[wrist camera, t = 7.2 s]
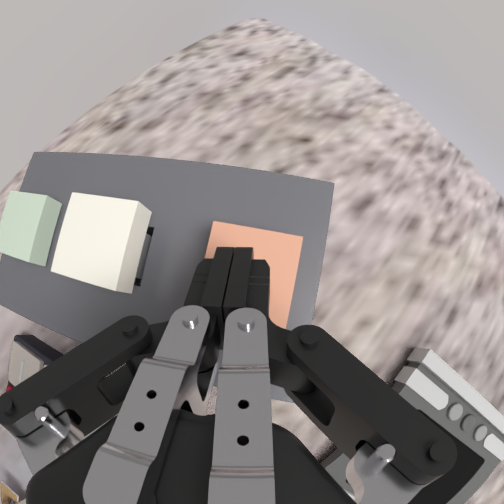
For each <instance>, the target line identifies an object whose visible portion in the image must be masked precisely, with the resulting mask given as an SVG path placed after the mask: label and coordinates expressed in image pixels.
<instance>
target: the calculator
mask: <svg viewBox="0 0 504 504" xmlns="http://www.w3.org/2000/svg"><path fill="white" fill-rule="evenodd" d="M62 356H63V354H61V353H60V352H58V351H56V350H55V349H53V348H52V347H50V346H49V345H47V344H45V343H44V342H42V341H41V340H39V339H38V338H36V337H35V336H33V335H16V336H15V337H14V341H13V343H12V348H11V355H10V363H9V371H8V386H7V391H9V390H10V389H12V388H13V387H15V386H16V385H18V384H20V383H21V382H23V381H24V380H26V379H27V378H29V377H30V376H32V375H33V374H35V373H37V372H38V371H40V370H41V369H43V368H44V367H46V366H47V365H49V364H51V363H52V362H54V361H55V360H57V359H58V358H60V357H62ZM104 379H105V378H102V379H101V380H100V381H99V382H101V381H102V380H104ZM7 391H6V392H7ZM117 415H118V414H117ZM117 415H116V416H117ZM114 417H115V416H114ZM107 422H108V421H107ZM104 424H105V423H104ZM104 424H103V425H104ZM101 426H102V425H101ZM101 426H100V427H101ZM100 427H98V428H100ZM98 428H97V429H98ZM97 429H95V430H94V431H96V430H97ZM94 431H93V432H94ZM93 432H91V433H93ZM91 433H90V434H91ZM90 434H88V435H87V436H89V435H90ZM87 436H85V437H84V439H85V438H86V437H87Z"/></svg>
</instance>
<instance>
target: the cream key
mask: <svg viewBox="0 0 504 504" xmlns="http://www.w3.org/2000/svg"><path fill="white" fill-rule="evenodd" d="M151 213H152V212H151V211H150V210H149V209H147V208H146V207H145V206H144V205H143V204H141V203H140V202H139V201H134V200H127V199H120V198H112V197H105V196H98V195H90V194H83V193H75V192H72V195H71V198H70V201H69V204H68V207H67V210H66V214H65V217H64V221H63V224H62V228H61V231H60V235H59V239H58V242H57V246H56V250H55V254H54V259H53V263H52V267H51V271H52V272H55V273H58V274H61V275H64V276H67V277H70V278H74V279H77V280H80V281H83V282H86V283H90V284H93V285H96V286H100V287H103V288H107V289H110V290H114V291H118V292H124V293H131V294H132V290H133V286H134V281H135V278H139V279H142V276H143V272H144V268H145V263H146V259H147V255H148V251H149V247H150V243H151V239H152V237H151V236H150V235H148V234H146V232H147V228H148V224H149V221H150V217H151Z"/></svg>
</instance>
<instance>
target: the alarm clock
mask: <svg viewBox="0 0 504 504" xmlns="http://www.w3.org/2000/svg"><path fill="white" fill-rule="evenodd" d="M406 360H408V361H409V364H408V365H407V366H404V367H403V368H402V370H401V371H400V372H399V374H398V375H397V377H396V378H395V379H394V380H395V381H396V382H395V383H394V385H393V386H392V387H391V388H392V389H393V390H395V391H396V392H397V393H398V394H399V395H400V396H402V397H403V398H404V399H405V400H406V401H408V402H409V403H410V404H411V405H412V406H413V407H415V408H416V409H417V410H418V411H419V412H421V413H422V414H423V415H424V416H425V417H426V418H428V419H429V420H430V421H431V422H432V423H434V424H435V425H436V426H437V427H438V428H440V429H441V430H442V431H443V432H444V433H446V434H447V435H448V436H449V437H450V438H451V439H452V440H453V441H454V443H455V445H456V448H457V460H456V462H455V464H454V466H453V467H452V469H451V470H450V471H449V472H447V473H446V474H444V475H443V476H441V477H439V478H438V479H436V480H435V481H433V482H432V483H430V484H428V485H427V486H425V487H423V488H422V489H421V490H420V491H419V492H418V493H417V494H416V495H415V497H414V498H413V499H412V500H411V501H410V502H409V503H408V504H464V503H465V502H466V501H467V500H468V499H469V498H470V497H471V496H472V495H473V494H474V493H475V492H476V491H477V490H478V489H479V488H480V486H481V485H482V484H483V483H484V482H485V481H486V479H487V478H488V477H489V476H490V474H491V473H492V472H493V470H494V469H495V468H496V466H497V465H498V464H499V462H500V461H503V459H504V416H503V415H501V414H500V413H499V412H498V411H497V410H496V409H495V408H494V407H493V406H492V405H491V404H490V403H489V402H488V401H487V400H486V399H485V398H484V397H483V396H481V395H480V394H479V393H478V392H477V391H476V390H475V389H474V388H473V387H472V386H471V385H470V384H469V383H467V382H466V381H465V380H464V379H463V378H462V377H461V376H460V375H459V374H458V373H457V372H455V371H454V370H453V369H452V368H451V367H450V366H449V365H448V364H447V363H445V362H444V361H443V360H442V359H441V358H440V357H439V356H438V355H437V354H435V353H434V352H433V351H432V350H431V349H421V348H414V350H413V351H412V352H411V354H410V355H409V357H408V358H407V359H406ZM349 462H350V459H349V458H348V457H347V456H346V455H345V454H344V453H343V452H342V451H341V450H340V449H339V448H337V449H336V450H335V451H334V452H333V453H331V454H330V455H329V456H328V457H327V458H326V459H325V460H323V461H322V462H321V463H320V464H321V465H322V466H323V467H324V468H325V470H326V471H327V472H328V473H329V474H330V475H331V476H332V477H333V478H334V480H335V481H336V482H337V483H338V484H339V485H340V486H341V487H342V488H343V489H344V490H345V491H346V492H347V494H348V495H349V496H350V497H351V498H352V499H353V500H354V498H355V494H354V490H353V488H352V486H351V485H350V484H349V482H348V480H347V478H346V467H347V465H348V463H349Z"/></svg>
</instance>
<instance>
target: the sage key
mask: <svg viewBox="0 0 504 504" xmlns="http://www.w3.org/2000/svg"><path fill="white" fill-rule="evenodd" d="M61 206H62V203H60V202H58V201H56V200H55V199H53V198H51V197H49V196H47V195H41V194H33V193H26V192H18V191H11V190H10V193H9V196H8V199H7V202H6V205H5V208H4V212H3V215H2V218H1V222H0V252H1V253H4V254H7V255H9V256H12V257H15V258H18V259H21V260H23V261H26V262H29V263H33V264H37V265H41V266H46V262H47V257H48V253H49V249H50V245H51V241H52V237H53V234H54V230H55V226H56V223H57V219H58V216H59V213H60V209H61Z"/></svg>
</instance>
